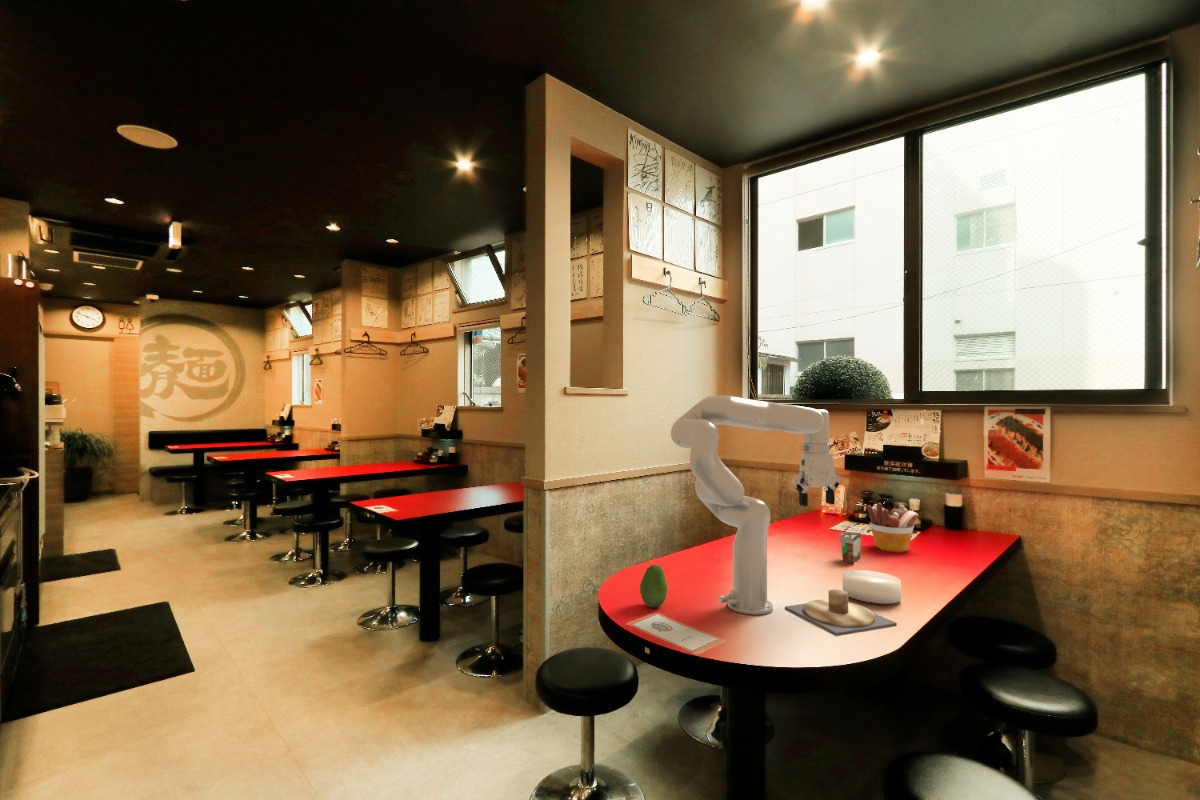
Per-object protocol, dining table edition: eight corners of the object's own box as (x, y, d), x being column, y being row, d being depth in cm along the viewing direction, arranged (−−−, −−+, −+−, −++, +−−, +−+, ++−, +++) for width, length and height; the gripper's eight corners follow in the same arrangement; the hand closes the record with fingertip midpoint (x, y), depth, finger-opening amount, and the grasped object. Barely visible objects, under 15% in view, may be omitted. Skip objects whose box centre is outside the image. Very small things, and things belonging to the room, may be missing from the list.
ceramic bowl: (872, 609, 156) (871, 588, 156) (831, 592, 171) (830, 572, 171) (914, 603, 162) (913, 582, 162) (870, 586, 177) (870, 568, 177)
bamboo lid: (836, 631, 139) (836, 607, 139) (790, 607, 156) (789, 586, 156) (890, 622, 145) (890, 599, 146) (839, 600, 162) (839, 579, 162)
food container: (844, 556, 214) (844, 530, 215) (861, 558, 211) (861, 532, 211) (835, 562, 205) (834, 536, 205) (852, 565, 201) (852, 538, 201)
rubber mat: (836, 635, 138) (836, 632, 138) (784, 608, 157) (784, 606, 157) (896, 625, 145) (896, 622, 145) (840, 600, 164) (840, 598, 164)
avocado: (672, 606, 158) (672, 564, 159) (655, 613, 153) (655, 570, 153) (651, 599, 164) (651, 559, 164) (634, 606, 158) (634, 564, 159)
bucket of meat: (886, 542, 237) (886, 496, 238) (925, 550, 223) (924, 501, 224) (857, 548, 227) (857, 500, 228) (896, 557, 213) (895, 506, 214)
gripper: (800, 450, 163) (800, 508, 162) (848, 449, 168) (848, 505, 167) (784, 449, 170) (785, 504, 170) (831, 447, 175) (832, 501, 175)
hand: (816, 504), depth 168 cm, fingers open, 9 cm apart
